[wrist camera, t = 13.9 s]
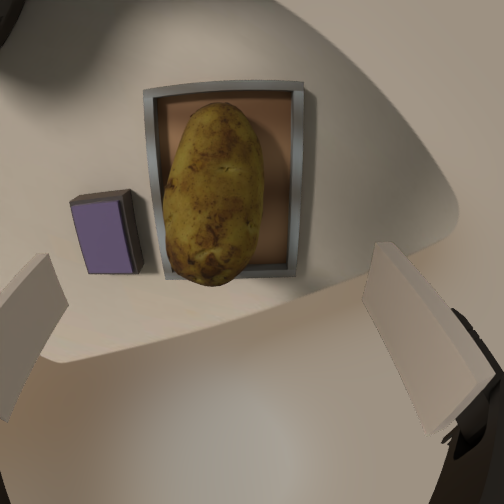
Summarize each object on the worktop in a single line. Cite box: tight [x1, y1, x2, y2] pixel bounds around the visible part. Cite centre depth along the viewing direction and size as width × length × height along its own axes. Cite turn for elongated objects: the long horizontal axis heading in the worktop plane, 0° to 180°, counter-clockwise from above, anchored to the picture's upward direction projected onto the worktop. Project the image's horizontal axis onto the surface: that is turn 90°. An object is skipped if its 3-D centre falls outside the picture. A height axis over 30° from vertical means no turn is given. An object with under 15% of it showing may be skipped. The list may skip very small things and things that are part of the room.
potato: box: [163, 102, 265, 287], centre depth 20 cm, size 8×13×8 cm, turn 155°
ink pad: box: [69, 189, 144, 274], centre depth 24 cm, size 8×6×2 cm
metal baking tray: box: [143, 80, 304, 280], centre depth 23 cm, size 18×13×2 cm
